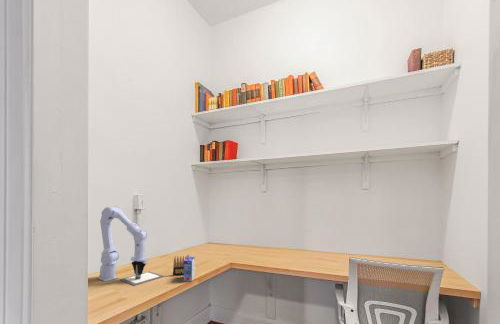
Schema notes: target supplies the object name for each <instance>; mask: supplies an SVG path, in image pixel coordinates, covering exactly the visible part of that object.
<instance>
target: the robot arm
mask: <svg viewBox="0 0 500 324" xmlns="http://www.w3.org/2000/svg"><path fill="white" fill-rule="evenodd" d="M114 219H118V221H120V222H121V223H122V224H123V225H124V226H126V230H127V231H128V232H129V233H130V234H131V236H132V237H133V240H134V255H133V256H131V257H130V261H131V265H132V267H133V272H134V274H135V273H136V264H137V268H138V275H141V274H142V273H144V269H145V266H146V264H148V259H146V258H145V249H146V248H145V247H146V239H147V237H148V234H147V231H146V230H143V229H142V228H140V227H139V225H138V223H135V222H132V221H131V220H130V219H129V218H128V217H127V215H126V214H125V213H124V212H123V209H121V208H120V207H119V206H107V207H104V209H103V210H102V211H101V218H100V221H99V222H100V229H101V236H102V237H101V238H102V244H103V251H102V252H101V257H100V263H101V266H100V267H99V277H97V279H98V280H101V281H103V282H109V281H112V280H116V279H118V278H119V277H118V276H116V272H117V271H116V270H117V261H118V260H119V258H120V254H119V252H118V250H117V248H116V247H115V246H114V238H113V232H112V231H113V229H112V226H111V222H112V221H113V220H114Z"/></svg>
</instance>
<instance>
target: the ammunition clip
mask: <svg viewBox="0 0 500 324" xmlns="http://www.w3.org/2000/svg"><path fill="white" fill-rule="evenodd" d="M188 257H190V255H189V256H188ZM186 258H187V255H185V257H184V256H182V255H180V256H177V257H176V256H174V258H173V268H172V270H173V271H172V276H173V277H175V276H184V260H185V259H186Z"/></svg>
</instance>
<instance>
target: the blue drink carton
mask: <svg viewBox="0 0 500 324" xmlns="http://www.w3.org/2000/svg"><path fill="white" fill-rule="evenodd" d="M186 256H187V258H186V259H185V258H184V275H183V282H193V280H194V278H195V277H196V257H195V256H190V254H187V255H186ZM188 256H189V257H188ZM194 276H195V277H194Z"/></svg>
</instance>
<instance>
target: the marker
mask: <svg viewBox="0 0 500 324" xmlns="http://www.w3.org/2000/svg"><path fill="white" fill-rule="evenodd" d="M134 275H135V279H140V278H141V275H138V268H137V264H136V273H134Z"/></svg>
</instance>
